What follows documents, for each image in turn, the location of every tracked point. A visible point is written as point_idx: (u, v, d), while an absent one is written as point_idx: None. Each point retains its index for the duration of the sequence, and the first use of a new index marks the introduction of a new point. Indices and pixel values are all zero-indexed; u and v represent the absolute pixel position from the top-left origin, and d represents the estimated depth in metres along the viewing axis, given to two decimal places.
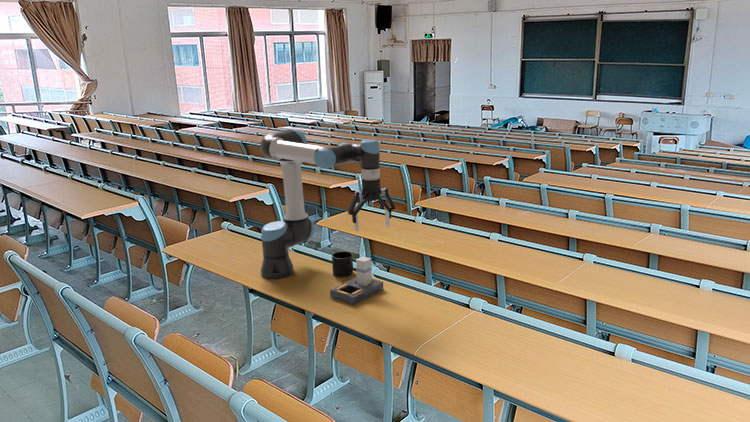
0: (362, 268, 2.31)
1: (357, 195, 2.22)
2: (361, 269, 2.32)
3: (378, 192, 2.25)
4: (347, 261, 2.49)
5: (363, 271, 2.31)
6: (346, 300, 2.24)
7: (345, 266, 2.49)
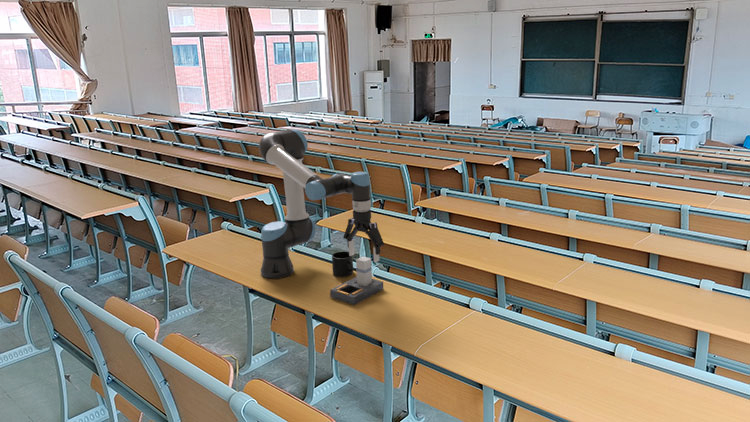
0: (362, 268, 2.31)
1: (349, 222, 2.31)
2: (361, 269, 2.32)
3: (365, 225, 2.26)
4: (347, 261, 2.49)
5: (363, 271, 2.31)
6: (346, 300, 2.24)
7: (345, 266, 2.49)
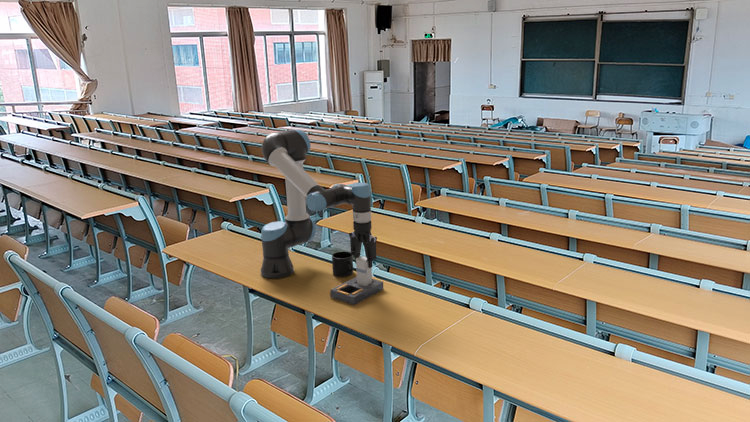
0: (362, 268, 2.31)
1: (350, 236, 2.33)
2: (361, 269, 2.32)
3: (365, 235, 2.27)
4: (347, 261, 2.49)
5: (363, 271, 2.31)
6: (346, 300, 2.24)
7: (345, 266, 2.49)
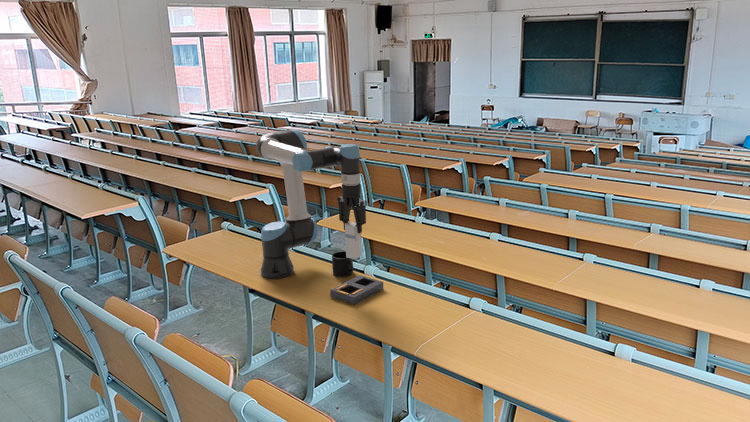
0: (351, 234, 2.22)
1: (338, 200, 2.24)
2: (350, 235, 2.23)
3: (354, 199, 2.18)
4: (347, 261, 2.49)
5: (352, 237, 2.22)
6: (346, 300, 2.24)
7: (345, 266, 2.49)
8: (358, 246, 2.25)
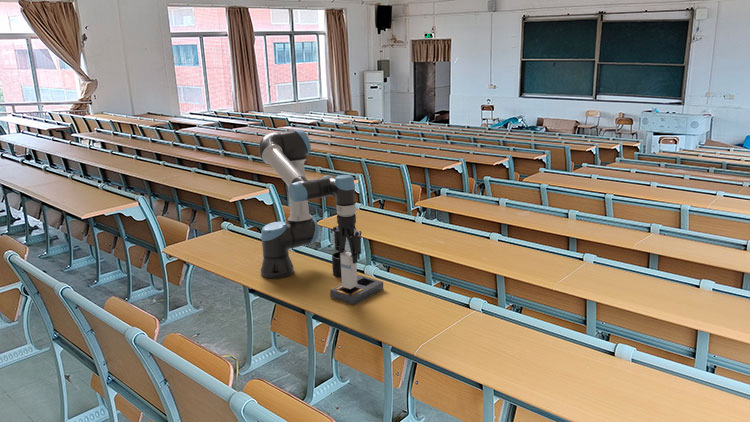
0: (346, 264, 2.23)
1: (334, 230, 2.24)
2: (345, 265, 2.23)
3: (350, 229, 2.19)
4: None
5: (347, 267, 2.23)
6: (346, 300, 2.24)
7: None
8: (353, 276, 2.26)
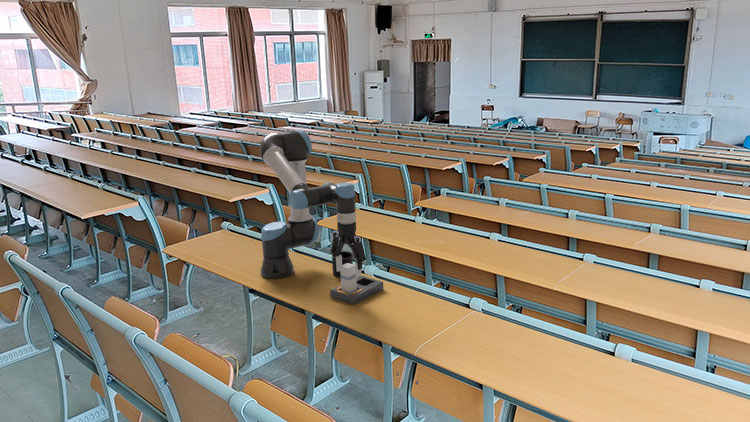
0: (346, 275, 2.25)
1: (333, 235, 2.25)
2: (345, 276, 2.25)
3: (350, 237, 2.20)
4: (347, 261, 2.49)
5: (347, 278, 2.24)
6: (346, 300, 2.24)
7: None
8: (353, 287, 2.27)
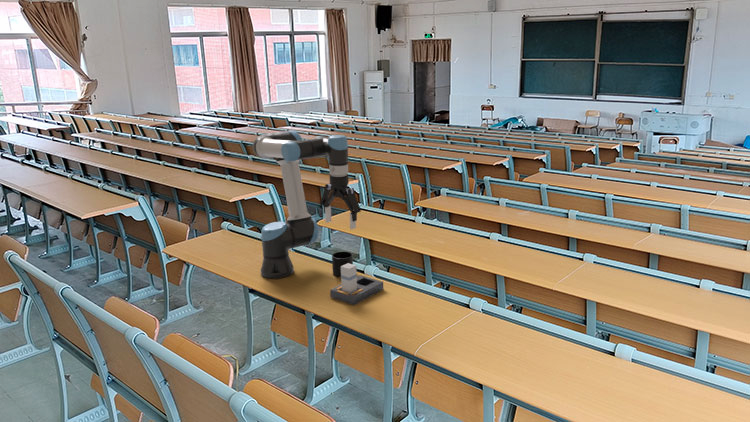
0: (346, 275, 2.24)
1: (325, 187, 2.24)
2: (346, 276, 2.25)
3: (342, 190, 2.19)
4: (347, 261, 2.49)
5: (348, 278, 2.24)
6: (346, 300, 2.24)
7: None
8: (354, 287, 2.27)
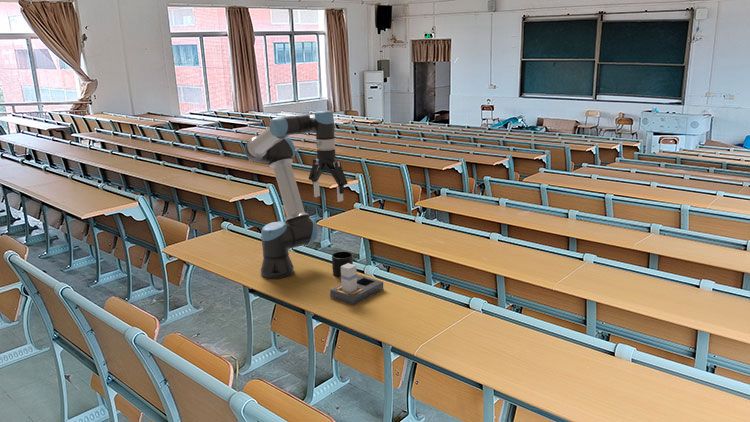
0: (346, 275, 2.24)
1: (313, 162, 2.32)
2: (346, 276, 2.25)
3: (329, 164, 2.26)
4: (347, 261, 2.49)
5: (348, 278, 2.24)
6: (346, 300, 2.24)
7: None
8: (354, 287, 2.27)
